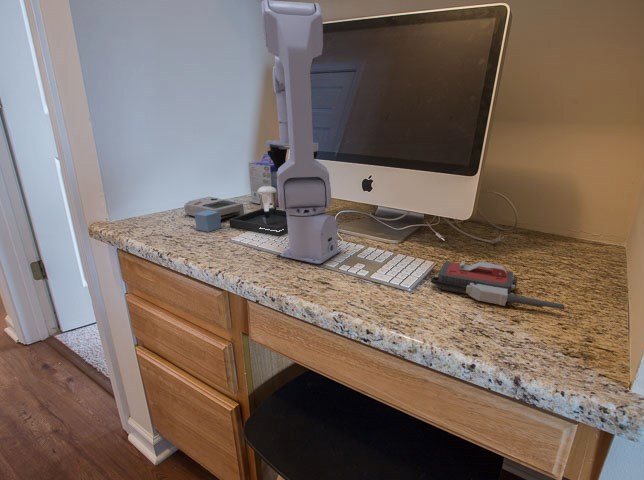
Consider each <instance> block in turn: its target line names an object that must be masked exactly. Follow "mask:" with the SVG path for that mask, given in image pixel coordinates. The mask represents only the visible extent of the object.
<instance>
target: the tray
mask: <svg viewBox="0 0 644 480" xmlns="http://www.w3.org/2000/svg"><path fill="white" fill-rule="evenodd" d="M228 221H229V223H228V224H229V227H230V228H234V229H238V230H243V231H251V232H255V233H260V234H266V235H271V236H277V237H280V236H283V235H284V234H286V233H287V234H288V227H287V215H286V210H285V211H282V209H277V208H276V223H274V224H265V223H264V222H263V216H262V211H261V208H259V209H256V210H253V211H250V212H247V213H244V214H243V215H237V216H233V217H232V218H229V219H228ZM260 227H261V228H265V229H270V230H277V231H279V230H282V229H284V230H282V231H280V232H276V231H270V230H265V229H259V228H260Z"/></svg>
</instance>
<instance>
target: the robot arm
mask: <svg viewBox="0 0 644 480" xmlns="http://www.w3.org/2000/svg"><path fill="white" fill-rule="evenodd" d="M260 8H261V21H262V33H263V40H264V43H265V47H266V49H267V52H268V54H271V55H274V66H273V67H272V84H273V91H274V94H275V98H276V111H277V122H278V123H277V124H278V134H279V135H278V136H279V139H278V140H277V139H276V140H275V139H268V140H266V142H265V143H266V149H269V150H267V151H266V152H267V154H268V155H269V156H270V158H271V159H272V160H271V162H272V163H274V165H275V168H276V170H277V190H278V201H279V206H278V208H279V210H282V211H286V215H287V227H288V232H287V237H288V238H287V240H288V249H287V250H285V251H283V252H281V253H280V254H279V256H280V257H282V258H287V259H292V260H297V261H301V262H306V263H310V264H315V265H321V264H322V263H325V262H326V261H327V260H329V259H331V258H332V257H333V256H335V255H336V254H339V253H340V252H341V250H340V249H339V246H338V245H339V244H338V243H339V242H338V241H339V240H338V222H337V219H336V217H335V216H334V215H332V214H329V213H327V212H326V209H329V207H330V206H331V204H332V188H331V187H332V186H331V179H330V172H329V171H328V169H327V167H326V166H325V165H324V164H322V163H321V162H319V161H318V160H317V159H316V158H317V156H318V152H319V142H314V131H313V107H312V106H313V105H312V83H311V69H312V65H313V61H314V60H313V59H315V58H318V57H319V56H322V55H323V50H324V33H323V32H324V28H323V26H324V24H323V23H324V22H323V10H322V7H321V6H320V4H319V3H318V2H313V3H312V2H299V1H288V0H287V1H286V0H262V1H261V2H260ZM288 150H289V159H288V160H287V153H288ZM270 158H269V159H270ZM337 249H338V250H337Z"/></svg>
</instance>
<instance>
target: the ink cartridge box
mask: <svg viewBox="0 0 644 480" xmlns="http://www.w3.org/2000/svg"><path fill="white" fill-rule="evenodd" d="M268 158H269V159H268ZM247 166H248V173H249V175H248V176H249V188H250V198H251V203H252V204H258V205H260V201H259V196H258V189H259V188H260V187H262V186H271V187H274V188H275V189H277V170H276V168H275V165H274V163H273V162H272V159H271V158H270V156H269V155H268V153H267V154H266V153H264V154H263V156H262V159H261V161H252V162H248V163H247ZM276 207H279V201H278V190H277V196H276Z"/></svg>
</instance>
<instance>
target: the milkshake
mask: <svg viewBox="0 0 644 480" xmlns="http://www.w3.org/2000/svg"><path fill="white" fill-rule="evenodd" d="M258 196H259V201H260V204H259V206H260V209H261V211H262V216H263V222H264V223H265V224H274V223H276V209H277V206H276V196H277V189H275V188H274V187H271V186H262V187H260V188H259V189H258Z"/></svg>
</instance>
